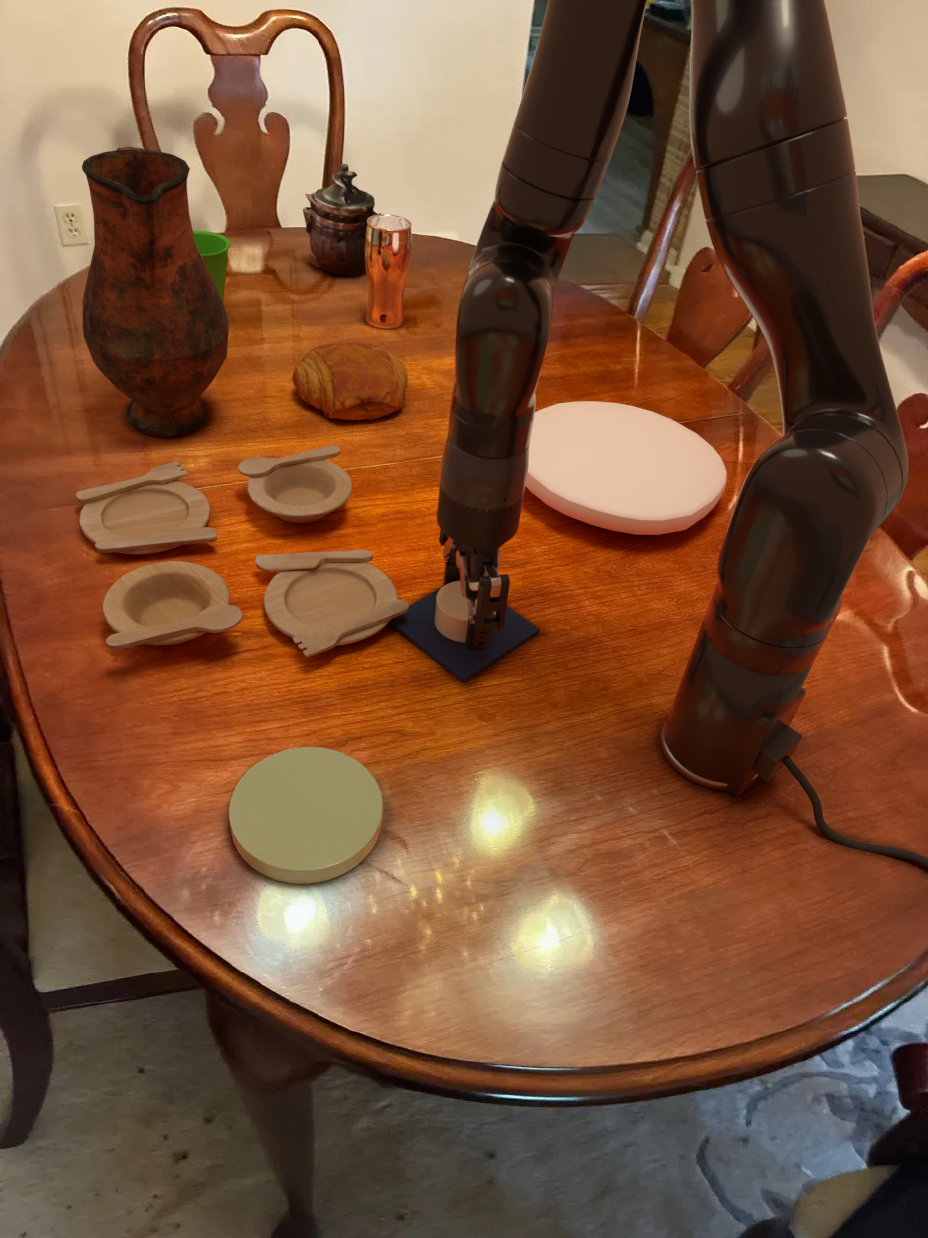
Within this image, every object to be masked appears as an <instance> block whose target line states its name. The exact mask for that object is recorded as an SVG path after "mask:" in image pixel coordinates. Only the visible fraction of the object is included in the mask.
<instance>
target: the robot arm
mask: <svg viewBox="0 0 928 1238" xmlns="http://www.w3.org/2000/svg"><path fill="white" fill-rule="evenodd" d="M647 3H648V0H547V4H546V8H545V13H544V16H543V21H542V24H541V27H540V28H541V29H540V33H539V36H538V40H537V44H536V48H535V51H534V55H533V58H532V62H531V65H530V68H529V73H528V76H527V79H526V83H525V85H524V90H523V93H522V95H521V99H520V102H519V105H518V108H517V111H516V114H515V118H514V121H513V125H512V128H511V131H510V134H509V137H508V141H507V144H506V148H505V151H504V153H503V157H502V160H501V164H500V168H499V171H498V175H497V180H496V184H495V191H494V199H493V201H492V203H491V206H490V209H489V211H488V213H487V217H486V218H485V222H484V224H483V227H482V229H481V232H480V234H479V237H478V240H477V243H476V245H475V249H474V251H473V254H472V257H471V259H470V263H469V266H468V269H467V272H466V275H465V279H464V283H463V287H462V290H461V294H460V297H459V301H458V308H457V315H456V327H455V349H454V351H455V352H454V367H455V368H454V372H455V375H454V376H455V380H454V384H453V389H452V394H451V401H450V409H449V418H448V429H447V437H446V441H445V445H444V449H443V453H442V459H441V467H440V468H441V470H440V478H439V479H440V480H439V490H438V500H437V511H436V523H437V525H438V527H439V529H440V530H439V537H438V542H439V544H440V546H443V547H444V549H443V551H442V552H443V553H442V558H443V560H444V563H445V564H444V573H443V580H442V581H443V582H442V583H443V584H442V587H443V586H445V585H446V584H448V583H451V582H455V581H461V593H462V597H463V598H464V599H466V600H467V603H468V615H469V616H468V625H467V632H466V639H465V645H466V647H467V649H468V650H469V651H472V650H481V649H486V648H487V647H488V646H489V641H490V635H491V631H492V630H501V629H503V627H504V620H505V613H506V606H508V599H509V593H510V592H509V591H510V586H511V585H510V584H511V579H510V576H509V575H508V574H507V573H505V574H500V570H499V567H500V566H501V550H500V548H501V547H502V546H504V545H505V544H506V543H507V542H509V541H510V540H512V538H514V537H515V535H516V534H517V532H518V530H519V526H520V519H521V513H522V508H523V502H524V496H525V491H526V490H525V489H526V486H525V485H526V479H527V473H528V467H529V445H530V438H531V433H532V427H533V421H534V415H535V412H536V405H537V387H538V384H539V380H540V376H541V373H542V368H543V364H544V361H545V356H546V351H547V347H548V342H549V338H550V332H551V327H552V322H553V321H552V320H553V310H554V309H553V308H554V297H555V292H556V288H557V284H558V281H559V278H560V275H561V272H562V269H563V266H564V264H565V261H566V258H567V255H568V253H569V250H570V247H571V244H572V241H573V239H574V236H575V233H576V232H578V231H579V230H580V229H581V228H582V227H583V225H584V223H585V222H586V219H587V218H588V216H589V214H590V212H591V210H592V207H593V205H594V202H595V200H596V198H597V195H598V192H599V191H600V188H601V186H602V182H603V179H604V177H605V174H606V172H607V169H608V167H609V164H610V162H611V160H612V156H613V153H614V151H615V149H616V146H617V143H618V140H619V137H620V133H621V131H622V128H623V125H624V121H625V118H626V114H627V111H628V106H629V103H630V97H631V94H632V88H633V82H634V77H635V70H636V63H637V57H638V52H639V45H640V40H641V33H642V27H643V22H644V17H645V12H646V8H647ZM690 7H691V8H690V11H691V12H690V13H691V32H690V33H691V34H690V36H691V37H690V39H691V40H690V56H689V57H690V58H689V77H688V78H689V80H688V82H689V83H688V120H689V123H688V124H689V125H688V126H689V138H690V139H689V140H690V147H691V154H692V161H693V167H694V169H695V177H696V183H697V186H698V191H699V196H700V200H701V205H702V210H703V215H704V218H705V223H706V224H705V225H706V227H707V231H708V235H709V238H710V241H711V244H712V248H713V251H714V253H715V256H716V258H717V260H718V262H719V264H720V266H721V268H722V269H723V271H724V273H725V275H726V277H727V279H728V280H729V282H730V284H731V285H732V287H733V288H734V290H735V292H736V294H737V295H738V296H739V298H740V299H741V301H742V303H743V304H744V305H745V307H746V308H747V310H748V312H749V313H750V316H752V318H753V319H754V321H755V323H756V324H757V326H758V329H760V331H761V334H762V336H763V337H764V340H765V342H766V344H767V346H768V347H767V348H768V349H769V352H770V355H771V359H772V362H773V366H774V367H773V368H774V371H775V376H776V381H777V387H778V394H779V401H780V408H781V418H782V436H781V437H780V438H779V439H778V440H777V441H775V442H774V443H773V444H772V445H771V446H769V447H768V448H767V449H766V450H765V451H764V452H763V453H762V454H760V455H759V456H758V458H757V459H756V460H755V461H754V462H753V464H752V466H751V467H750V468H749V471H748V473H747V475H746V476H745V479H744V481H743V483H742V485H741V488H740V489H739V493H738V496H737V498H736V502H735V505H734V507H733V511H732V513H731V516H730V520H729V522H728V526H727V529H726V532H725V535H724V540H723V542H722V545H721V549H720V552H719V555H718V559H717V565H716V571H717V572H716V573H717V579H718V580H717V582H716V585H715V588H714V590H713V593H712V595H711V598H710V601H709V603H708V607H707V608H706V612H705V615H704V618H703V620H702V623H701V626H700V627H699V631H698V632H697V633H698V634H697V636H696V639H695V641H694V644H693V647H692V650H691V653H690V655H689V658H688V661H687V664H686V665H685V669H684V672H683V674H682V677H681V679H680V681H679V685H678V688H677V690H676V693H675V696H674V699H673V701H672V704H671V707H670V710H669V712H668V713H667V716H666V719H665V720H664V723H663V725H662V728H661V732H660V739H659V740H660V747H661V751H662V753H663V755H664V757H665V758H666V760H667V762H668V763H669V764H670V765H671V766H672V767H673V768H674V769H675V771H677V772H678V773H679V774H680V775H681V776H683V777H685V778H686V779H688V780H689V781H691V782H692V783H694V784H697V785H699V786H702V787H705V788H708V789H713V790H719V791H725V792H727V793H728V794H730V795H731V796H733V797H735V798H736V797H739V796H740V795H741V794H742V793H743V792H744V791H745V790H746V789H747V788H748V787H749V786H750V785H751V784H752V783H754V782H755V781H756V780H757V779H758V778H759V777H761V779H763V780H765V781H766V782H768V781H769V780H770V779H771V778H772V777H773V776H774V775H775V774H776V773H777V772H778V771H779V770H780V769H781V768H782V767H783V766H785V767H786V770H788V772H790V775H792V776H793V777H794V779H795V780H796V781H797V783H798V784H799V786H800V787H801V788H802V789H803V791H804V793H805V794H806V796H807V797H808V799H809V801H810V802H811V806H812V811H813V812H812V813H813V819H814V823H815V825H816V827H817V829H818V830H819V831H820V833H822V834H823V835H824V836H825V837H827V838H828V839H829V840H831V841H833V842H834V843H837V844H839V845H841V846H844V847H846V848H851V849H855V850H859V851H863V852H867V853H871V854H877V855H881V856H882V855H883V856H888V857H894V858H899V859H903V860H907V861H910V862H913V863H915V864H918V865H920V866H922V867H924V868H926V869H928V857H926V856H924V855H921V854H919V853H916V852H913V851H909V850H906V849H903V848H898V847H893V846H892V847H891V846H885V845H879V844H872V843H866V842H862V841H857V840H853V839H850V838H848V837H845V836H843V835H841V834H840V833H838V832H836V831H834V829H832V828H831V827H830V826H829V825H828V824H827V823H826V821H825V819H824V815H823V814H824V813H823V807H822V803H821V800H820V798H819V797H820V796H819V795H818V794H817V791H816V790H815V789H814V787H813V786H812V784H811V783H810V781H809V779H808V778H807V777H806V776H805V775H804V773H803V772H802V771H801V770H800V768H799V767H798V765H796V763H795V762H794V760H793V759H792V756H793V755H794V754H795V752H796V750H797V748H798V746H799V744H800V743H801V740H802V739H803V736H804V735H802V734H801V733H800V732H798V731H797V730H795V729H794V728H792V727H791V725H792V722H793V720H794V718H795V717H796V714H797V712H798V710H799V709H800V706H801V705H802V702H803V701H804V699H805V696H806V693H807V690H806V689H805V688H803V686H804V684H805V681H806V679H807V678H808V675H809V674H810V671H811V669H812V668H813V665H814V663H815V661H816V659H817V658H818V655H819V653H820V651H821V649H822V647H823V645H824V643H825V641H826V639H827V637H828V635H829V633H830V632H831V630H832V627H833V626H834V623H835V621H836V620H837V618H838V616H839V613H840V611H841V607H842V595H843V593H844V591H845V589H846V587H847V585H848V583H849V580H850V578H851V576H852V574H853V572H854V570H855V568H856V566H857V564H858V562H859V560H860V558H861V555H862V554H863V552H864V550H865V549H866V546H867V544H868V542H869V540H870V539H871V537H872V536H873V535H874V534H875V532H876V531H877V530H878V529H879V527H880V526H881V525H883V523H884V522H885V520H886V519H887V518H888V517H889V516H890V514H891V513H892V512H893V510H894V509H895V508H896V507H897V506H898V504H899V503H900V501H901V499H902V497H903V494H904V492H905V491H906V490H905V489H906V487H907V484H908V478H909V468H910V462H909V461H910V460H909V453H908V448H907V444H906V443H907V442H906V439H905V435H904V431H903V427H902V423H901V420H900V417H899V412H898V410H897V406H896V402H895V399H894V396H893V392H892V388H891V384H890V380H889V377H888V373H887V370H886V366H885V363H884V362H885V361H884V357H883V355H882V350H881V346H880V343H879V338H878V332H877V327H876V322H875V313H874V307H873V299H872V289H871V278H870V272H869V263H868V255H867V247H866V243H865V236H864V235H865V234H864V229H863V222H862V215H861V207H860V197H859V188H858V178H857V171H856V164H855V157H854V151H853V144H852V137H851V131H850V123H849V119H848V118H847V117H848V112H847V106H846V100H845V95H844V91H843V87H842V82H841V76H840V71H839V65H838V61H837V60H838V59H837V55H836V51H835V46H834V45H835V44H834V41H833V35H832V30H831V26H830V20H829V15H828V11H827V7H826V2H825V0H690ZM469 582H470V583H479V584H478V585H477V589H478V590H471V588H470V584H469ZM476 599H477V606H476Z"/></svg>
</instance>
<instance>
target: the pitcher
mask: <svg viewBox="0 0 928 1238" xmlns="http://www.w3.org/2000/svg"><path fill="white" fill-rule="evenodd" d="M190 169H191V168H190V167H189V165H188V163H187V161H186V160H184V159H183V158H182V157H181V158H180V157H179V156H177V155H174V154H172V153H168V152H164V151H158V150H148V149H144V148H142V147H135V146H122V147H117V149H116V150H110V151H104V152H103V151H102V152H100V153H97V154H94V155H90V156H89V157H87V158H86V159H85V160H83V162H82V165H81V170H82V172H83V174H85V177H86V180H87V184H88V188H89V195H90V196H89V197H90V201H91V205H92V206H91V207H92V213H93V234H94V235H93V236H94V238H93V239H94V246H93V250H92V255H91V256H92V257H91V259H90V264H89V269H88V273H87V276H86V282H85V286H84V291H83V296H82V301H81V302H82V304H81V305H82V335H83V338H84V339H83V340H84V341H85V344H86V347H87V349H88V351H89V354H90V357H91V360H92V362H93V364H94V366H96V367H97V369H98V370H99V372H101V373H102V375H103V376H104V377H105V378H106V379H107V380H108V381H109V382H110V383H111V385H113V387H114V388H115V389H117V390H118V391H119V392H121V393H122V394H123V395H124V396H125V397H127V398H128V399H129V400H131V401H130V403H129V404H128V405H127V407H126V411H125V412H126V413H125V415H126V418H127V421H128V423H129V424H130V425H131V426H132V427H133V428H134V429H136V430H137V431H139V432H141V433H142V434H145V435H148V436H150V437H158V438H172V437H173V438H174V437H180V436H184V435H188V434H190V433H193V432H195V431H197V430H198V429H199V428H201V427H202V426H203V425H205V423H206V422H207V420H208V415H209V410H208V407H207V405H206V403H205V401H204V400H203V399H202V398H201V396H202V395H203V393H204V392H205V391H206V390H207V389H208V387H209V386H210V385H211V384H212V383H213V381H214V379H215V378H216V376H218V373H219V371H220V369H221V368H222V366H223V364H224V363H225V361H226V359H227V357H228V348H229V347H228V345H229V331H230V330H229V328H230V323H229V319H228V315H227V312H226V309H225V306H224V302H222V299H221V296H220V293H219V291H218V289H217V287H216V285H215V283H214V281H213V279H212V277H211V275H210V273H209V271H208V269H207V267H206V265H205V263H204V261H203V258H202V256H201V254H200V252H199V250H198V247H197V245H196V243H195V239H194V234H193V231H194V230H193V225H192V220H191V215H190V208H189V196H188V177H189V173H190Z"/></svg>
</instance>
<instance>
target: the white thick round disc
mask: <svg viewBox="0 0 928 1238" xmlns="http://www.w3.org/2000/svg"><path fill="white" fill-rule="evenodd" d="M727 473H728V472H727V469H726V467H725V463H724V460H723V458H722V457H721V456H720V455H719V454H718V452H717V451H716V449H715V448H714V446H713V445H711V444H710V443H709V442H708V441H706V439H704V438H703V437H702V436H701V435H699V434H698V433H696V432H695V431H693V430H692V429H689V428H688V427H686V426H685V425H683V424H681V423H679V422H678V421H676V420H673V419H672V418H669V417H667V416H664V415H662V414H659V413H657V412H655V411H652V410H648V409H644V408H640V407H638V406H634V405H629V404H624V403H618V402H611V401H609V402H608V401H597V400H596V401H595V400H594V401H593V400H592V401H591V400H587V401H584V400H583V401H582V400H581V401H569V402H568V401H567V402H560V403H559V402H558V403H556V404H553V405H550V406H547V407H544V408H541V409H539V410H537V411H535V415H534V421H533V427H532V433H531V438H530V445H529V467H528V473H527V479H526V485H525V488H527V490H528V491H530V493H532V494H533V495H534V496H535V497H537V498H538V499H539V500H540V501H542V503H544V504H546V506H548V507H550V508H551V509H553V510H555V511H557V512H559V513H561V514H562V515H564V516H567V517H569V518H572V519H575V520H578V521H580V522H583V523H586V524H588V525H591V526H593V527H594V526H595V527H598V528H602V529H605V530H609V531H614V532H618V533H619V532H620V533H625V534H631V535H637V536H638V535H640V536H641V535H643V536H645V535H646V536H647V535H650V536H651V535H652V536H653V535H654V536H659V535H665V534H670V533H676V532H680V531H685V530H687V529H690V527H692V526H693V525H695V524H696V523H698V522H699V521H700V520H702V519H704V518H705V517H706V516H707V515H709V513H710V512H712V510H713V509H714V508H715V507H716V505H717V504H718V503H719V501H720V499H721V497H722V496H723V494H724V492H725V490H726V488H727V487H726V486H727Z"/></svg>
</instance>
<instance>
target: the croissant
mask: <svg viewBox="0 0 928 1238" xmlns="http://www.w3.org/2000/svg"><path fill="white" fill-rule="evenodd" d="M291 379H292V382H293V385H294V387H296V389H297V395H298V397H300V399H301V400H303V401H305V403H306V405H307V406H312V407H314V408H315V409H316V410H320V411H322V414H323V415H324V416H325V417H326V418H329V419H330V420H331V419H336V420H343V421H362V420H375V419H380V418H381V417H384V416H388V415H390V414H392V413H394V412H396V411H399V410H401V409H402V408H404V407H405V405H404V404H403V403H404V396H405V392H406V390H407V388H408V380H409V378H408V370H407V367H406V365H405V364H404V362H403V361H401V360H400V359H399V358H398V357H397V356H395V355H394V354H393V353H392V352H390V351H387V350H386V348H384V346H382V345H380V344H379V343H373V342H370V341H366V340H360V339H359V340H358V339H353V340H352V339H350V340H345V341H335V342H330V343H325V344H320V345H318V346H314V347H313V348H311V349H310V350H309V351H308V352H307V353H306V354H305V355H303V357H302V358H301V360H300V362H299V363H298V364H297V365H296V367H295V368H294V370H293V373H292V377H291Z"/></svg>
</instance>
